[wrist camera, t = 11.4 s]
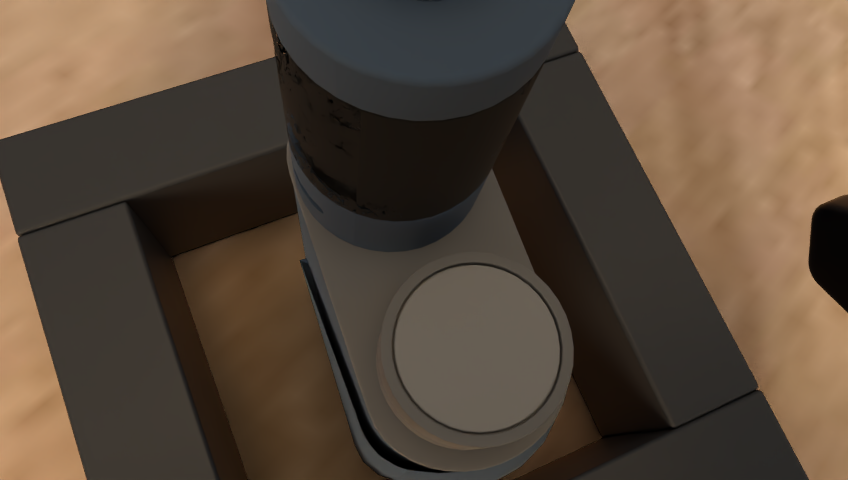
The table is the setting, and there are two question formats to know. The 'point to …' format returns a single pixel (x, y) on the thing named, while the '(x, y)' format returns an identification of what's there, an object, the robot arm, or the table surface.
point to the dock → (275, 198)
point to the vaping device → (422, 226)
